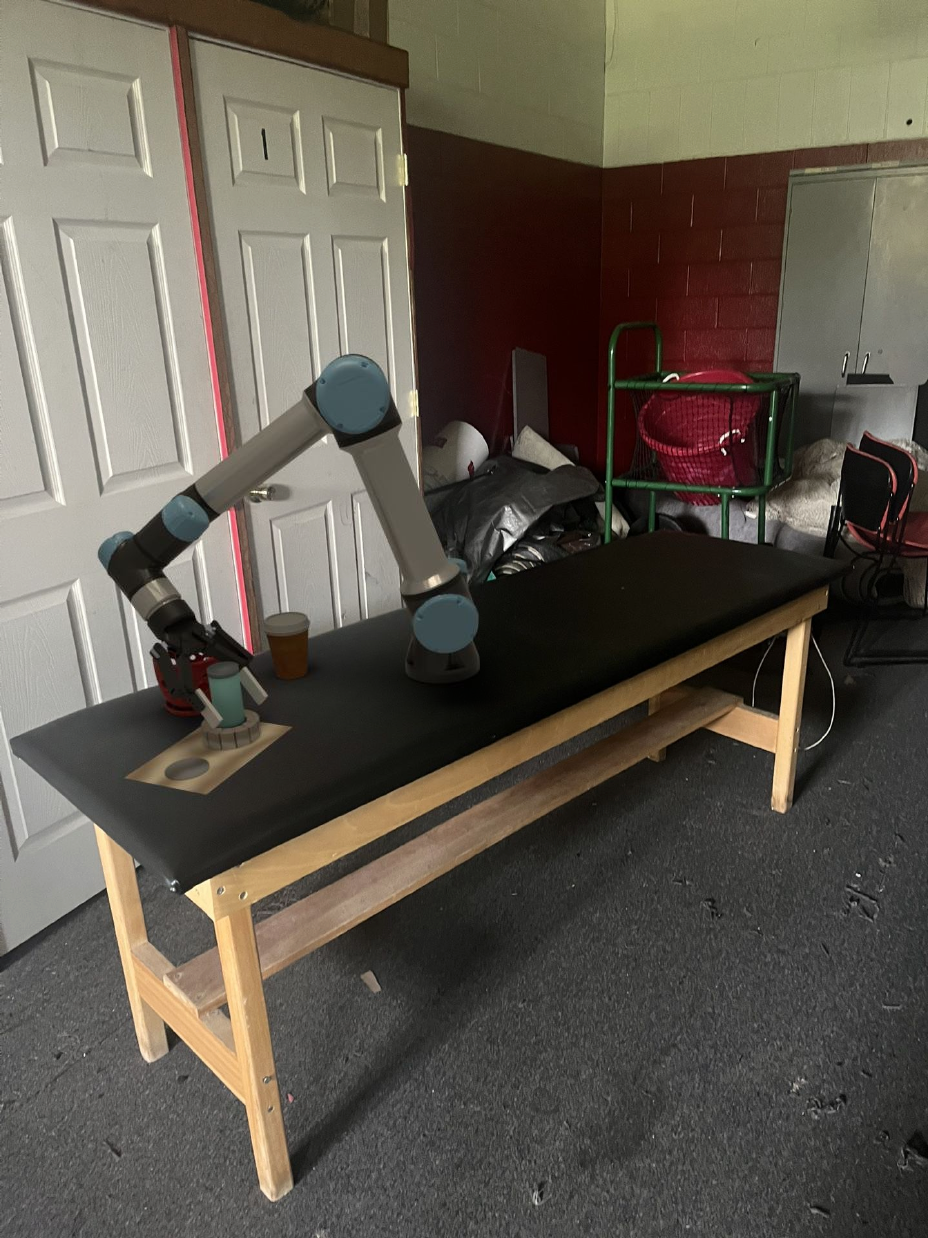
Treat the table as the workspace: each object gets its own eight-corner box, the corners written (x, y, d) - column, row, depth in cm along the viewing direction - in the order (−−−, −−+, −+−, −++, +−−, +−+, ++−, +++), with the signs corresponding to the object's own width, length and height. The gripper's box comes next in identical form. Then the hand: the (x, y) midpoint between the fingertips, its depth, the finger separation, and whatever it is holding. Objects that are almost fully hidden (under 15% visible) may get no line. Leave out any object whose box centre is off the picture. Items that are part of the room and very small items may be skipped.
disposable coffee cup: (259, 680, 179) (252, 624, 175) (284, 662, 187) (277, 609, 183) (300, 685, 176) (294, 628, 172) (323, 667, 184) (318, 612, 180)
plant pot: (152, 707, 169) (142, 648, 165) (218, 688, 176) (210, 632, 172) (175, 731, 158) (164, 669, 154) (244, 710, 166) (236, 650, 162)
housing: (292, 732, 156) (290, 711, 155) (207, 800, 135) (203, 777, 134) (218, 720, 162) (215, 700, 160) (125, 783, 141) (120, 761, 140)
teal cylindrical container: (253, 732, 154) (244, 663, 150) (235, 745, 150) (225, 675, 145) (229, 728, 156) (219, 660, 152) (210, 741, 152) (200, 671, 147)
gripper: (205, 604, 163) (277, 698, 161) (101, 643, 146) (180, 750, 143) (221, 580, 159) (296, 677, 156) (116, 617, 141) (198, 727, 138)
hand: (241, 712), depth 149 cm, fingers open, 10 cm apart
